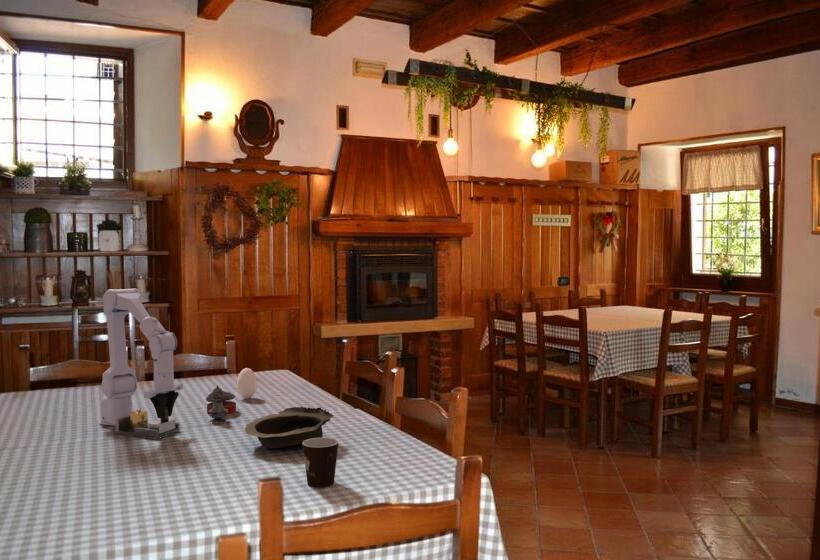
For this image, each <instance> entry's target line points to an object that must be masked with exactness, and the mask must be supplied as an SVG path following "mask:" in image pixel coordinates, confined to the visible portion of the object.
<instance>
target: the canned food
mask: <svg viewBox="0 0 820 560" xmlns="http://www.w3.org/2000/svg"><path fill="white" fill-rule="evenodd" d="M222 398H223V400H222V405H223V408H224V409H227V411H226V414H225V416H228V415H227V414H229V415H233V414H235V413H236V412H237V402H235V401H232V400H234V399H235V398H236V396H235V395H234V393H231V392H228V391H225V390H222ZM212 399H213V391H212V392H210V394H208V396H207V397H206V398H205V401H206V402H209V403H207V404H206V414H207V415H209V414H210V412H209V410H211V409H212V408H213V400H212ZM232 413H233V414H232Z"/></svg>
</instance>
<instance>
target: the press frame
mask: <svg viewBox="0 0 820 560" xmlns="http://www.w3.org/2000/svg"><path fill="white" fill-rule="evenodd" d="M115 421H116V426H115V430H113V431H114V434H115V435H120V434H121V435H120V436H128V435H130V436H129V437H136V436H138V438H144V437H147V438H146V439H152V438H154V439H153V440H158V438H159V439H161V438H164V437H166V435H167V436H170V435H172V433H173V434H175V432H176V433H178V431H179V432H180V431H181V430H180V427H181V426H180V422H176V421H175V429H172V430H169V431H166V432H163V433H160V434H159V430H155V429H149V423H148V428H139V427H136V428H135V430H131V422H130V415H129V416H126V417H122V418H119V419H115ZM169 434H170V435H169ZM163 436H164V437H163ZM160 437H161V438H160Z"/></svg>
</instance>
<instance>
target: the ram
mask: <svg viewBox="0 0 820 560" xmlns="http://www.w3.org/2000/svg"><path fill="white" fill-rule="evenodd" d="M175 422H176V419H175V418H170V416H169V407H168V406H166V407H165V418H163V419H161V418H159V419H158V420H155V421H152V422H149V423H148V424H149V429H155V430H159V434H160V433H163V432H166V431H169V430H172V429H175Z"/></svg>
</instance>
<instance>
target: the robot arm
mask: <svg viewBox="0 0 820 560" xmlns="http://www.w3.org/2000/svg"><path fill="white" fill-rule="evenodd" d="M102 306H103V313H104V315H105V316H106V323H107V338H108V350H109V351H108V352H109V363H110V364H109V366H110V367H108V369H107V370H105V371H104V372H103V373H102V380H101V381H102V382H101V385H100V386H101V392H102V394H103V395H104V397H102V399H101V400H100V407H99V408H100V410H99V411H100V421H99V422H98V425H105V426H106V425H107V426H114V427H116V421H115V419H119V418H122V417H126V416H129V415H130V413H131V412H133V396H134V395H135V392H136V391H137V388H138V385H139V384H138V379H137V375H136V371H135V369H134V368H132V367H130V365H128V354H127V353H128V352H127V341H126V340H127V339H126V338H127V337H126V328H125V327H126V326H125V318H126V316H127V315H128V314H131V315H132V316H133V317H134V318H135V319H136V321H138V322H139V323H140V324H139V330H140V331H141V332H142V334H143V335H144V337H146V339H147V341H148V342H149V343H148V347H149V348H148V349H149V350H150V354H151V355H150V356H151V358H152V359H153V387H152V388H150V389H148V390H144V392H143V396H144V398H145V399H149V400H150V402H151V403H152V405H153V407H154V410H155V414H156V416H157V417H156V418H157V419H160V418H161V419H163V418H165V407H166V406H168V407H169V417H172V414H173V409H174V406H175V404H176V401H177V399H178V397H179V392H178V391H181V390H183V389H184V386H183V385H184V384H183V383H182V382H176V383H174V381H175V378H174V377H175V374H174V351H175V350H176V349H177V347H178V339H177V336H176V335H175V333H174V332H170V331H169V330H166V329H165V328H164V327H163V325H162V323H160V321H159V320H158V319H157V317H154V316H150V314H149V312H148V311H147V309H146V307H145V306H144V305H143V303H142V294H141V293H140V291H139V290H138V289H137V288H135V287H132V288H124V289H123V288H119V289H113V288H112V289H110V288H109V289H107V290H106V291H105V292H104V295H103V296H102Z"/></svg>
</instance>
